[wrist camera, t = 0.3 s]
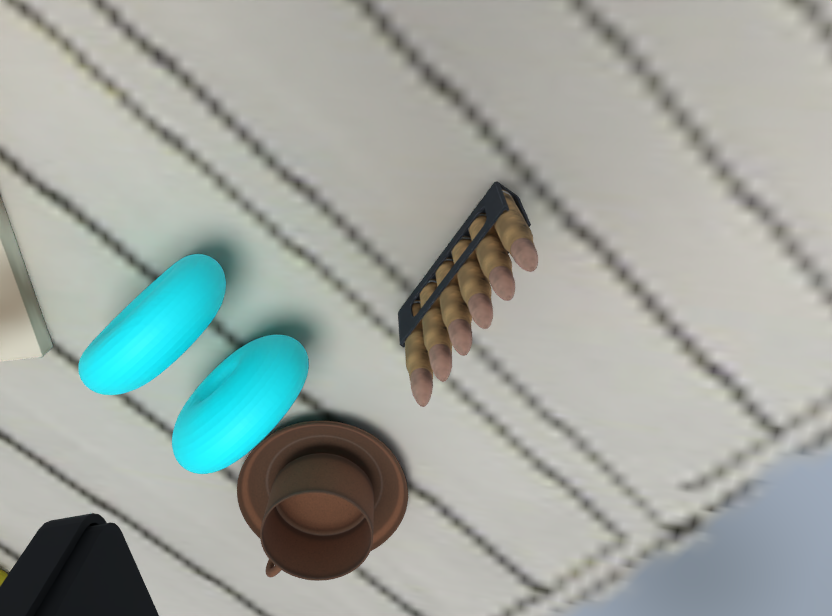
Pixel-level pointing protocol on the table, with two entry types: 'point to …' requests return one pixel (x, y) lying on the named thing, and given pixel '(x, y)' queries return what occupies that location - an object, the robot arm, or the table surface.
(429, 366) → the ammunition clip
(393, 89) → the table surface
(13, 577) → the robot arm
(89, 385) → the donuts
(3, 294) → the beige wavy cloth
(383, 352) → the table surface
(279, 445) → the cup and saucer
